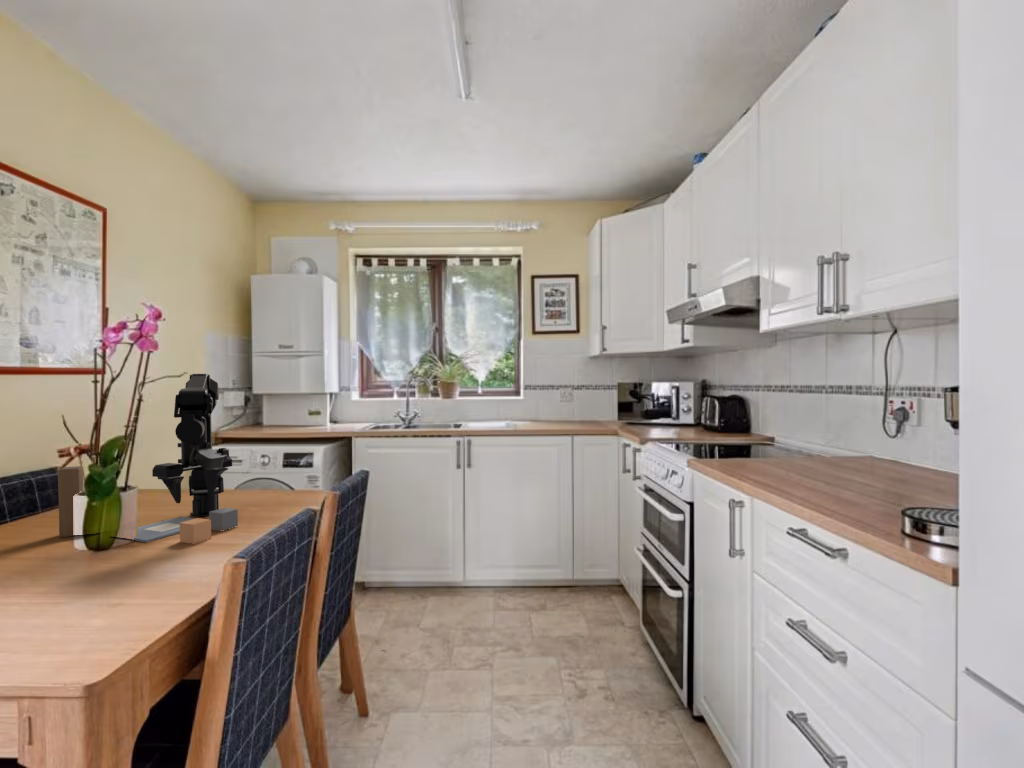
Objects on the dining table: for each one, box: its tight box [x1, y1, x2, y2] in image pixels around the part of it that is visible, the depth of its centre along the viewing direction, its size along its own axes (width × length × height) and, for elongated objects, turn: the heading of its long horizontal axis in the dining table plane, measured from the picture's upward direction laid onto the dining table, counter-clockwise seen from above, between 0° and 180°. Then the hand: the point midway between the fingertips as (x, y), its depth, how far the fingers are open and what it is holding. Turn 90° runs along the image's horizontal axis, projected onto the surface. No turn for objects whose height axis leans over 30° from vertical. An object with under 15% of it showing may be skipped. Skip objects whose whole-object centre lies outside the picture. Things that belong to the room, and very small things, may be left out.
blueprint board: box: [133, 516, 197, 543], centre depth 155 cm, size 20×14×1 cm
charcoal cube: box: [208, 507, 239, 532], centre depth 156 cm, size 5×5×5 cm
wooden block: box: [57, 465, 84, 539], centre depth 151 cm, size 9×4×18 cm, turn 115°
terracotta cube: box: [179, 517, 212, 545], centre depth 145 cm, size 5×5×5 cm
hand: (194, 499), depth 145 cm, fingers open, 9 cm apart
